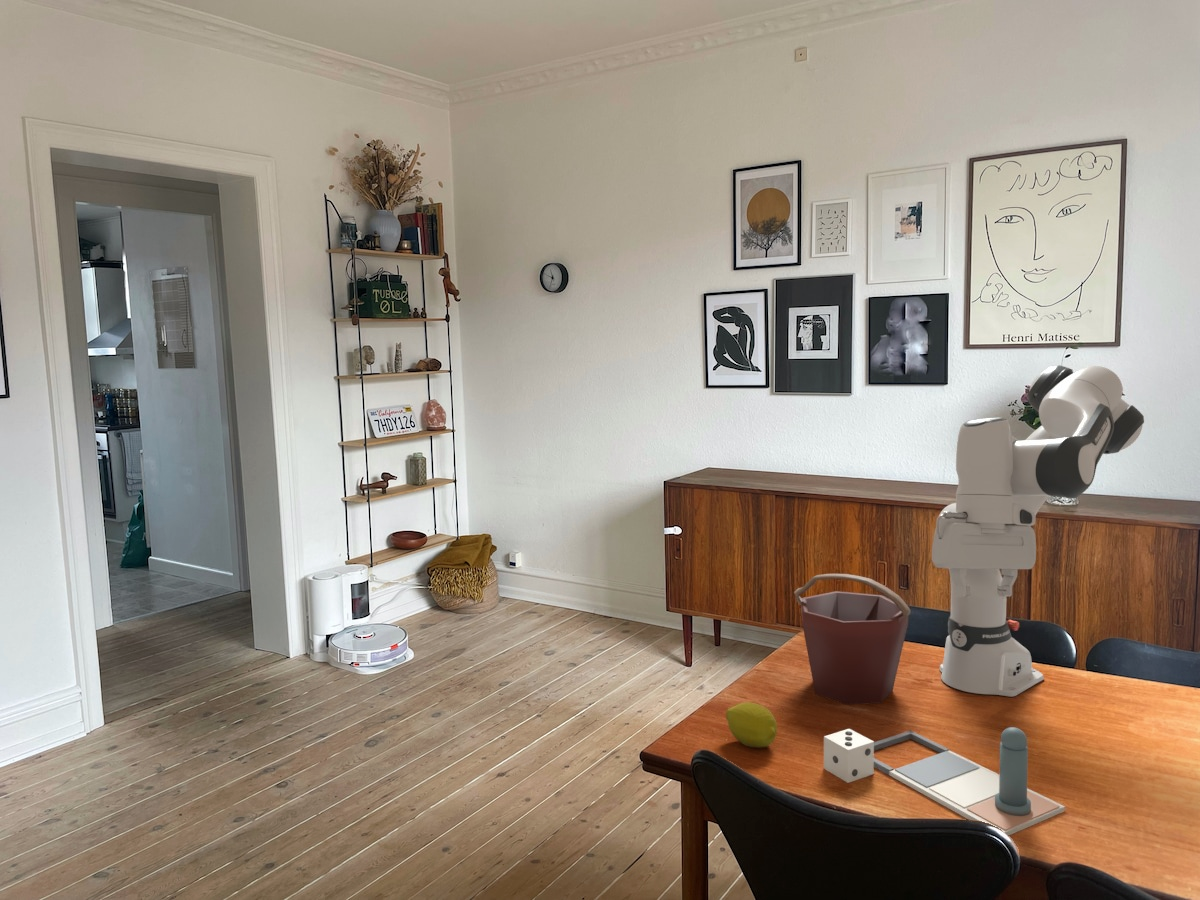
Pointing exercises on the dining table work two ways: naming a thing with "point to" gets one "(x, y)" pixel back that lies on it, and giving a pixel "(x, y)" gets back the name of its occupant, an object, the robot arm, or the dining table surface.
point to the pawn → (1013, 773)
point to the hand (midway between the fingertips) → (984, 596)
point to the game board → (963, 786)
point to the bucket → (853, 640)
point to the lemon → (752, 724)
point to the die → (848, 755)
